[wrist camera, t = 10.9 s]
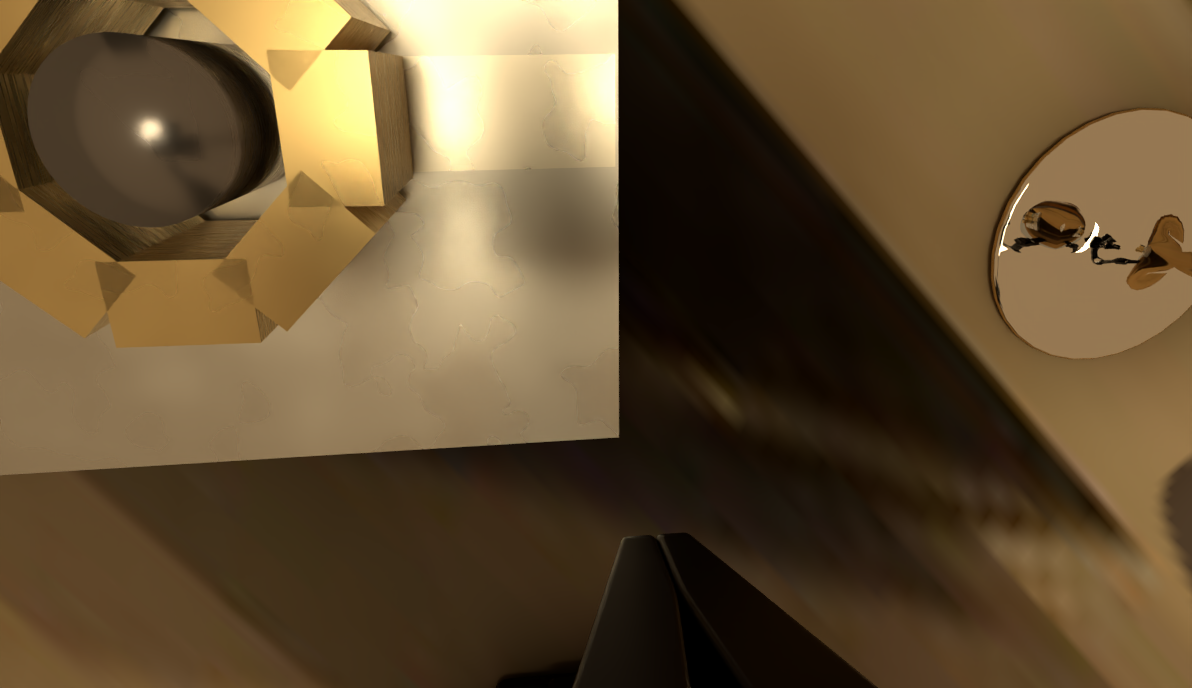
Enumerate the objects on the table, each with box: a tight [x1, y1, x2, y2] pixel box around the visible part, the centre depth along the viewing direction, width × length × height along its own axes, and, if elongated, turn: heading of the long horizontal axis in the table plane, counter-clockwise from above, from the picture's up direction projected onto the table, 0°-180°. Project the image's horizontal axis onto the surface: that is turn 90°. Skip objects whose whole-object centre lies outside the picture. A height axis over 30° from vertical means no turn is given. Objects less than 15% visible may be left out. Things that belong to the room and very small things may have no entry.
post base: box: [0, 0, 619, 475], centre depth 15 cm, size 18×18×6 cm
